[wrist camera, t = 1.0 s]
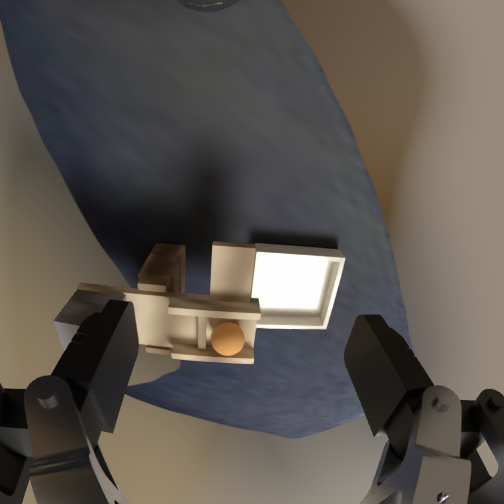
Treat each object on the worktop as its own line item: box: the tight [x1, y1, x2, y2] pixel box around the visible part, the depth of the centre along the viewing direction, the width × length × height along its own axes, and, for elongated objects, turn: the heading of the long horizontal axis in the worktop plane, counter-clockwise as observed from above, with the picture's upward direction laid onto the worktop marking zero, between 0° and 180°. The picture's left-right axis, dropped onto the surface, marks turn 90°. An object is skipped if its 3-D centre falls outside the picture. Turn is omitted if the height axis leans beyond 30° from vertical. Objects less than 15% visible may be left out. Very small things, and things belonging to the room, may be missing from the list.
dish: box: [250, 243, 345, 329], centre depth 40 cm, size 12×12×3 cm
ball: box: [211, 322, 245, 356], centre depth 29 cm, size 4×4×4 cm
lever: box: [54, 241, 261, 364], centre depth 27 cm, size 20×13×7 cm, turn 84°
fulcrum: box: [138, 243, 186, 355], centre depth 35 cm, size 4×10×10 cm, turn 174°
